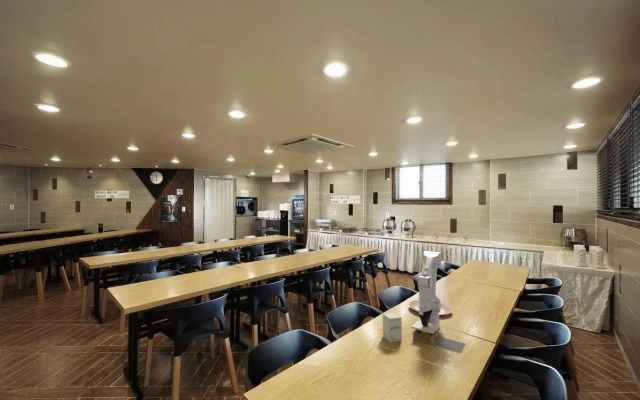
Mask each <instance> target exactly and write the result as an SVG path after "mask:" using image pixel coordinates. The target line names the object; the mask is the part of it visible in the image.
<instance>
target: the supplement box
mask: <svg viewBox="0 0 640 400" xmlns="http://www.w3.org/2000/svg"><path fill="white" fill-rule="evenodd" d="M402 331H403V330H402V316H400V315H398V314H397V313H395V312H390V313H382V336H383V338H384V339H385V340H386V341H387V342H389V343H394V342H395V343H396V342H402V339H403V338H402V337H403V336H402V334H403V332H402Z"/></svg>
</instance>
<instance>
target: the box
mask: <svg viewBox="0 0 640 400" xmlns="http://www.w3.org/2000/svg"><path fill="white" fill-rule="evenodd" d="M426 333H427V334H428V335H430V336H427V335H424V334H421V330H417V329H414V331H413V332H412V340H415V341H418V342H420V343H425V344H426V345H430V346H433V345H435V344H436V342H437V341H438V340H439V339H438V338H439V330H437V331H435V332H434V333H433V334H432V333H428V332H426Z"/></svg>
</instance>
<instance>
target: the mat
mask: <svg viewBox="0 0 640 400" xmlns="http://www.w3.org/2000/svg"><path fill="white" fill-rule="evenodd" d="M434 346H435V347H438V348H440V349H441V348H442V349H444V350H447V351H448V350H449V351H452V352H455V353H458V354H462V351H463V350H464V348H465V346H466V342H461V341H457V340H454V339H450V338H447V337H443V336H440V338H439V339H437V341H436V342H435V343H434Z"/></svg>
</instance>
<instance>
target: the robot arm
mask: <svg viewBox="0 0 640 400" xmlns="http://www.w3.org/2000/svg"><path fill="white" fill-rule="evenodd" d="M422 260H423V263H424V267H422V269H421V272H420V275H419V276H418V277H417V286H418V287H417V289H418V296H419V297H418V298H419V299H418V300H419V305H418V306H417V307H418V308H419V311H418V312H417V314H418V316H419V320H420V321H421V323H422V325H423V326H427V319H428V324H429V323H432V324H436V325H439V328H438V329H437V330H436V331H439V329H440V328H441V327H442V325H441V324H440V316H439V312H440V310H441V304H440V303H441V300H440V298H439V296H437V294H436V293H437V291H436V290H437V275H438V274H437V273H438V272H437V271H438V268H440V267H441V265H442V254H441V252H440V251H437V252H436V251H426V250H424V251H423V252H422Z"/></svg>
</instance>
